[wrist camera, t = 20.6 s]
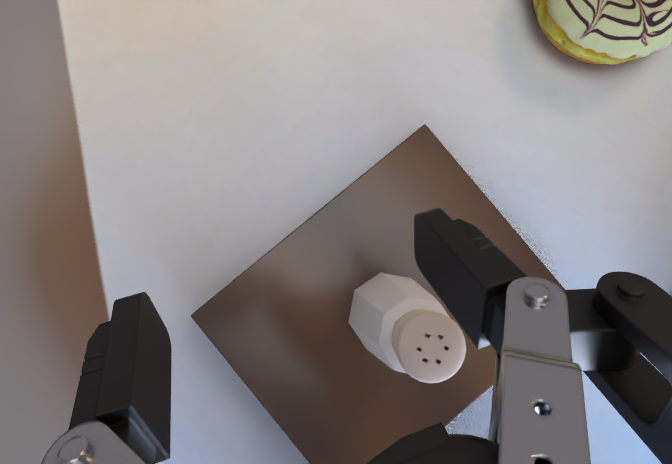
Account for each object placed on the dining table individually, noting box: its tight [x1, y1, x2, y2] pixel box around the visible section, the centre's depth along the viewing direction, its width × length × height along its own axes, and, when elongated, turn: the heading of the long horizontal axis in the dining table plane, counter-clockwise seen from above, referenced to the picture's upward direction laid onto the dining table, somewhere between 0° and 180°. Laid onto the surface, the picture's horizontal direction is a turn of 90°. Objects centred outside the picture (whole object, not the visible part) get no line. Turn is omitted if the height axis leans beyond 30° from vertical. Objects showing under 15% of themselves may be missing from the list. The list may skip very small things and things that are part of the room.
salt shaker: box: [348, 272, 466, 383], centre depth 22 cm, size 5×5×11 cm
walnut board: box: [191, 125, 565, 464], centre depth 28 cm, size 20×16×2 cm
